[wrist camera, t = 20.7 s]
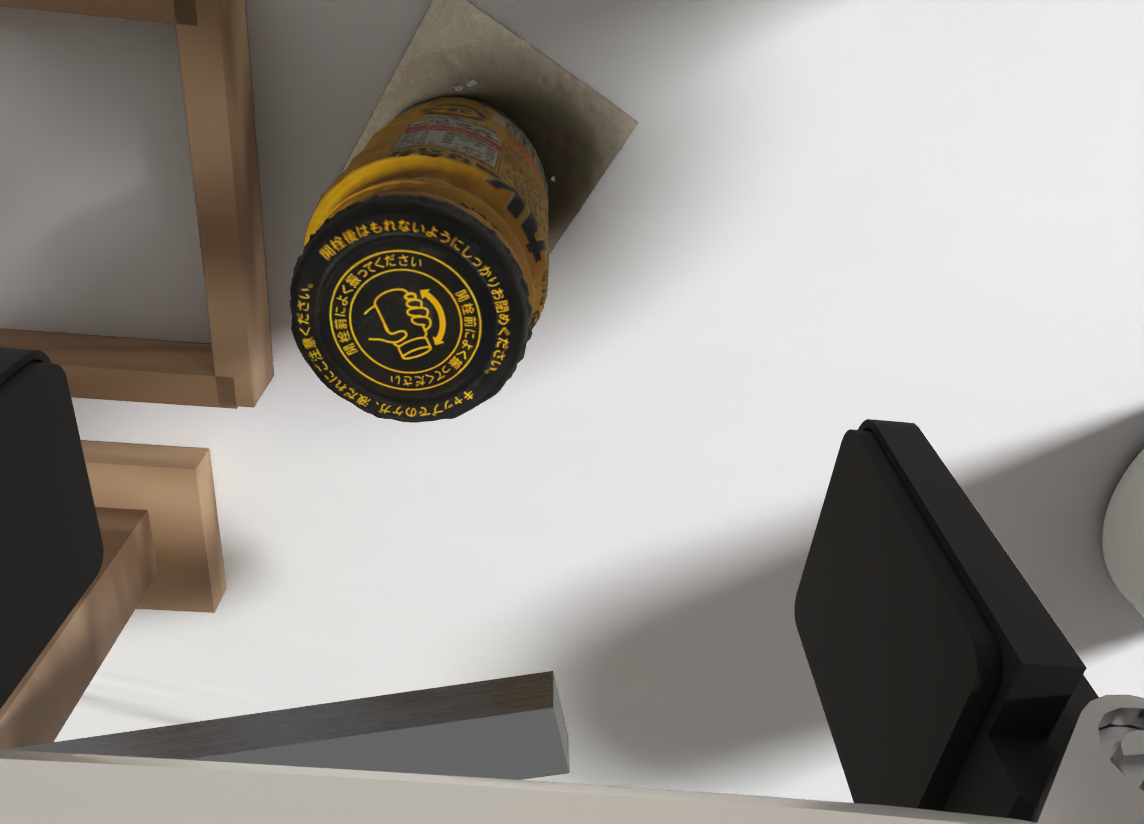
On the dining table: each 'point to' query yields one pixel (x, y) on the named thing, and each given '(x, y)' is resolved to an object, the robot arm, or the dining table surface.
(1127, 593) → the cylinder vase
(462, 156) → the condiment
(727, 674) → the dining table surface
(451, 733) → the t key
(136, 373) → the frame
